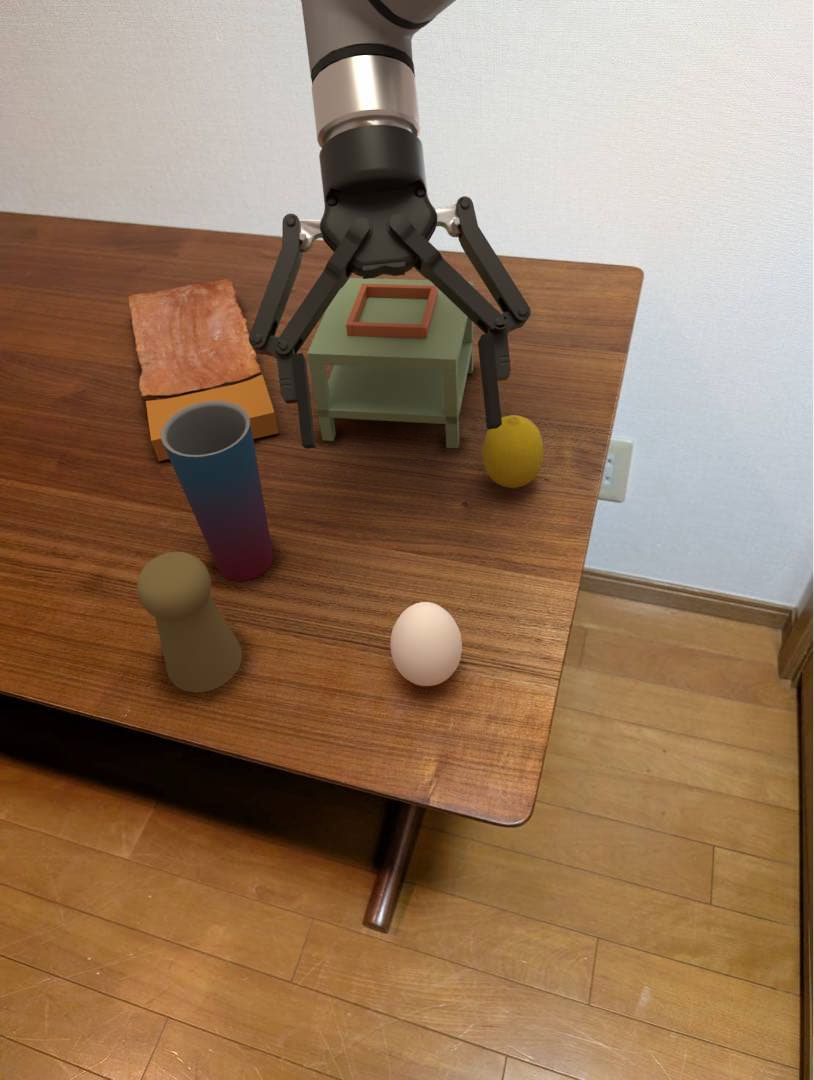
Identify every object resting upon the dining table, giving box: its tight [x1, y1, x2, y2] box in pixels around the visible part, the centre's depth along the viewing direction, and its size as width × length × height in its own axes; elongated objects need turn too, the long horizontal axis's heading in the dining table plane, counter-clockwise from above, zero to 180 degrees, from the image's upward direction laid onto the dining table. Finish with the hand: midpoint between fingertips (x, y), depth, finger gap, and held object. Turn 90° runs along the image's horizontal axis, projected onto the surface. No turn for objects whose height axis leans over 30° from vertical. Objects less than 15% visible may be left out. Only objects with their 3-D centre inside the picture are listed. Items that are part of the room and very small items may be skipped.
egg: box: [390, 601, 463, 687], centre depth 62 cm, size 5×5×8 cm
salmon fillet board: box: [127, 278, 280, 462], centre depth 94 cm, size 13×30×3 cm, turn 17°
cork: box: [136, 551, 243, 694], centre depth 63 cm, size 6×6×11 cm
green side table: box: [306, 277, 474, 449], centre depth 85 cm, size 14×14×12 cm
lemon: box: [481, 414, 544, 489], centre depth 76 cm, size 6×6×8 cm
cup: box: [161, 401, 274, 582], centre depth 69 cm, size 7×7×15 cm
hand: (402, 437), depth 61 cm, fingers open, 13 cm apart
